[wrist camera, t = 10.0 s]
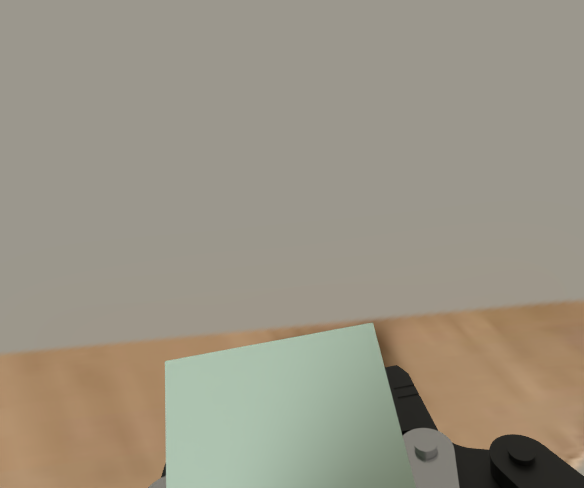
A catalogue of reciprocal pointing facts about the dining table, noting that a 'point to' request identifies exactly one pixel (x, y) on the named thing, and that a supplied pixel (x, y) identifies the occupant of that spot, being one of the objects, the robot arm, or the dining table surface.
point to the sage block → (285, 416)
